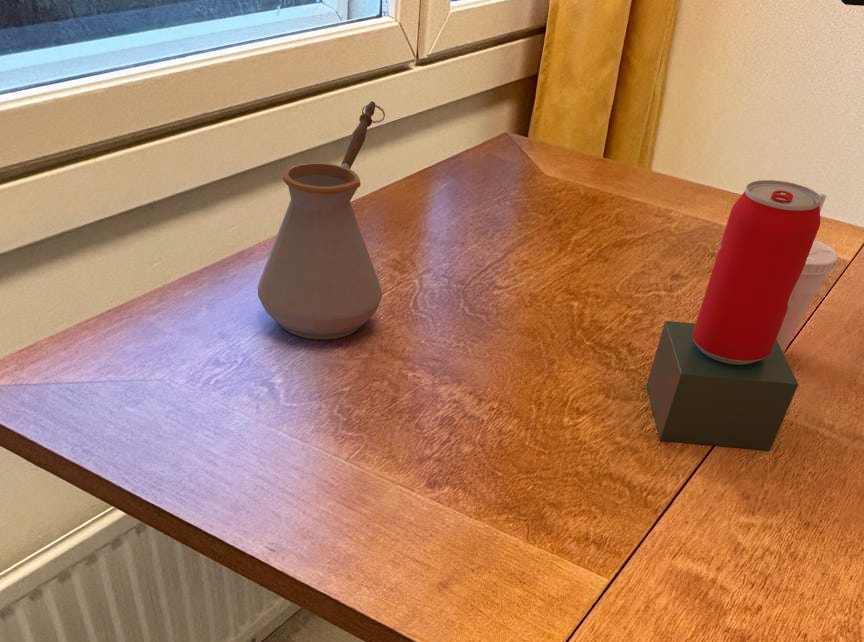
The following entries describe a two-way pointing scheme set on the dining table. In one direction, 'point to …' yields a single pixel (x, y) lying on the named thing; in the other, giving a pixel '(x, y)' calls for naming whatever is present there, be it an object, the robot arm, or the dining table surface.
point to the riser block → (717, 394)
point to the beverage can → (757, 271)
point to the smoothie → (807, 286)
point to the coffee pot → (322, 251)
